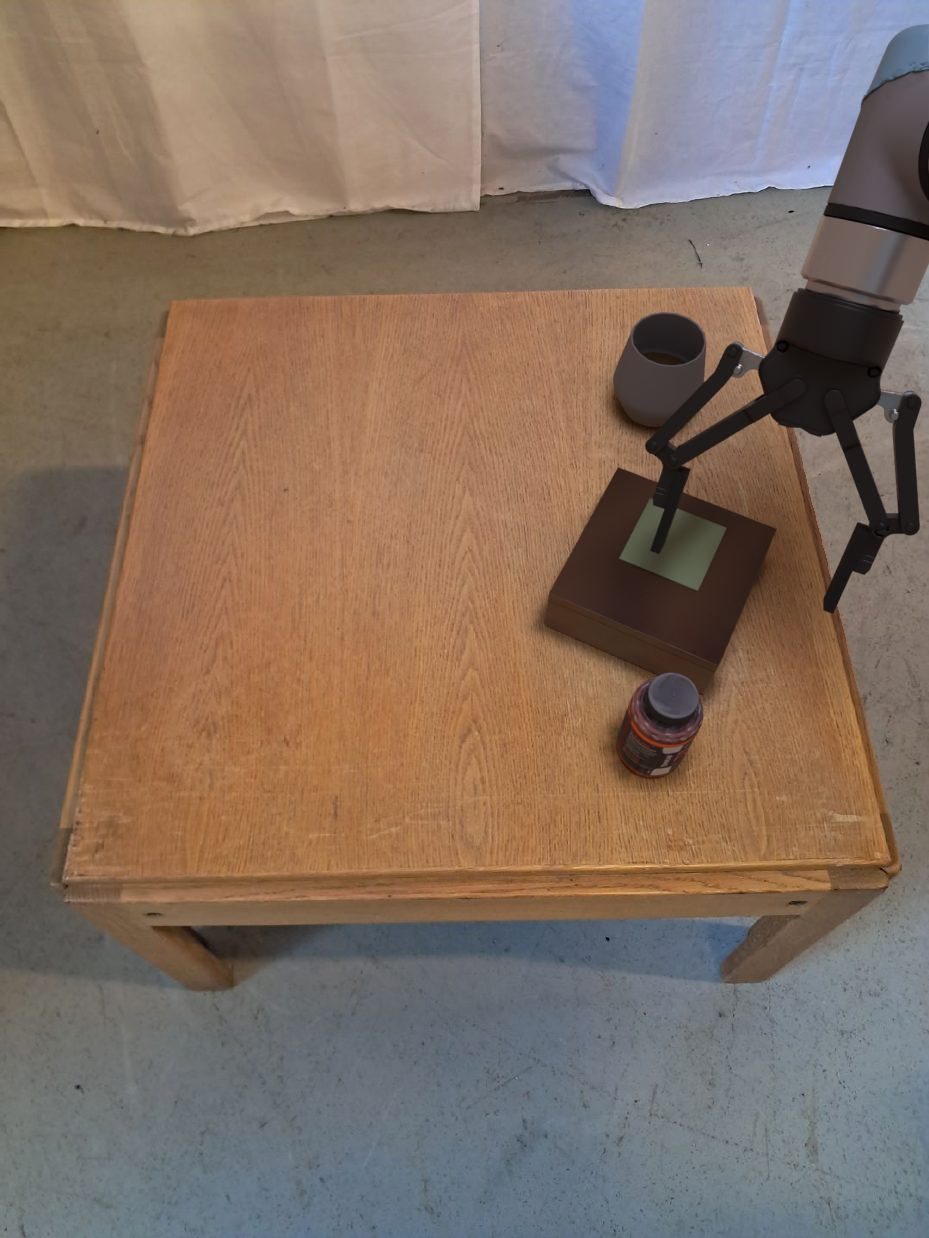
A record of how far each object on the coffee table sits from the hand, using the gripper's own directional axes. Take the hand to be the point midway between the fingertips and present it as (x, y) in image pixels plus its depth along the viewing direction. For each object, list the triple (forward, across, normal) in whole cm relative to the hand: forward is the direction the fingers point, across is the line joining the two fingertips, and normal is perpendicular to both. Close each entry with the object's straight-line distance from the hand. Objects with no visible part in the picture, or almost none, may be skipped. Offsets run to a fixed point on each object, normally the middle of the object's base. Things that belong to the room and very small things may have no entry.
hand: (740, 577), depth 71 cm
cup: (-5, +14, -32) cm, 35 cm away
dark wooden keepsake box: (+9, +6, -14) cm, 18 cm away
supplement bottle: (+18, +2, -2) cm, 19 cm away
